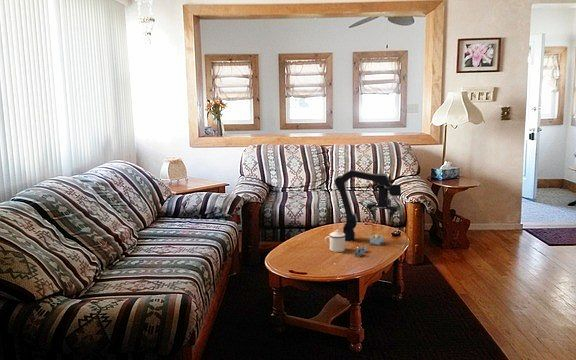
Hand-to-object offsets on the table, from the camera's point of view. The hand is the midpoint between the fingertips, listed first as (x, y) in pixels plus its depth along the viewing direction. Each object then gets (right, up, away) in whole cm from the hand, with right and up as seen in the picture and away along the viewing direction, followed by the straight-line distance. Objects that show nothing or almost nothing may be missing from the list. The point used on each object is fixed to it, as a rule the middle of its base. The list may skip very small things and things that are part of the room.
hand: (382, 221), depth 289 cm
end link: (-4, -12, -2) cm, 13 cm away
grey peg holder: (-4, -13, -2) cm, 13 cm away
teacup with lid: (-29, -15, -11) cm, 35 cm away
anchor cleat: (-17, -17, -22) cm, 33 cm away
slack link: (-14, -16, -16) cm, 26 cm away
